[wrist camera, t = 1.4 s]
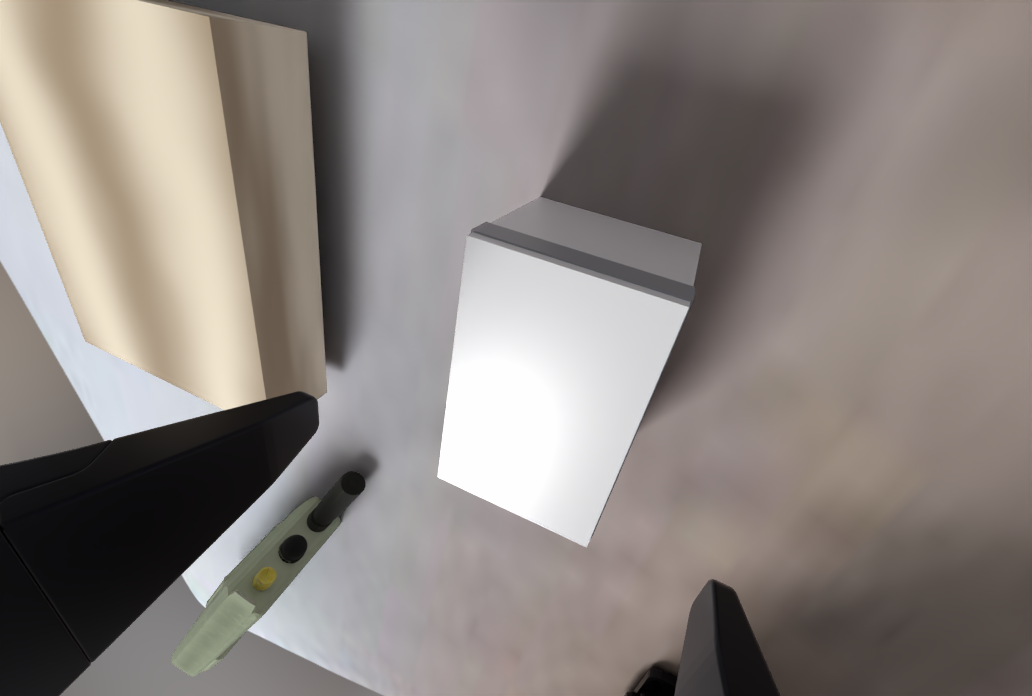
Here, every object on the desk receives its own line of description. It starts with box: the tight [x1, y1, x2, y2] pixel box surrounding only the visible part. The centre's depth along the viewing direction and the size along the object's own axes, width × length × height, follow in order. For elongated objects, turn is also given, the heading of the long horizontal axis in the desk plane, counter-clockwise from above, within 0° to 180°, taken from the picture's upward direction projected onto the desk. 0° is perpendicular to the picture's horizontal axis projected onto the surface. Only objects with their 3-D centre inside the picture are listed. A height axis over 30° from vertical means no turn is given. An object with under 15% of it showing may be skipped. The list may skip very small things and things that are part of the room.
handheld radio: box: [172, 471, 365, 676], centre depth 29 cm, size 7×3×25 cm
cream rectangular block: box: [0, 0, 327, 410], centre depth 18 cm, size 11×14×4 cm
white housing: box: [438, 197, 702, 547], centre depth 14 cm, size 5×8×5 cm, turn 169°
